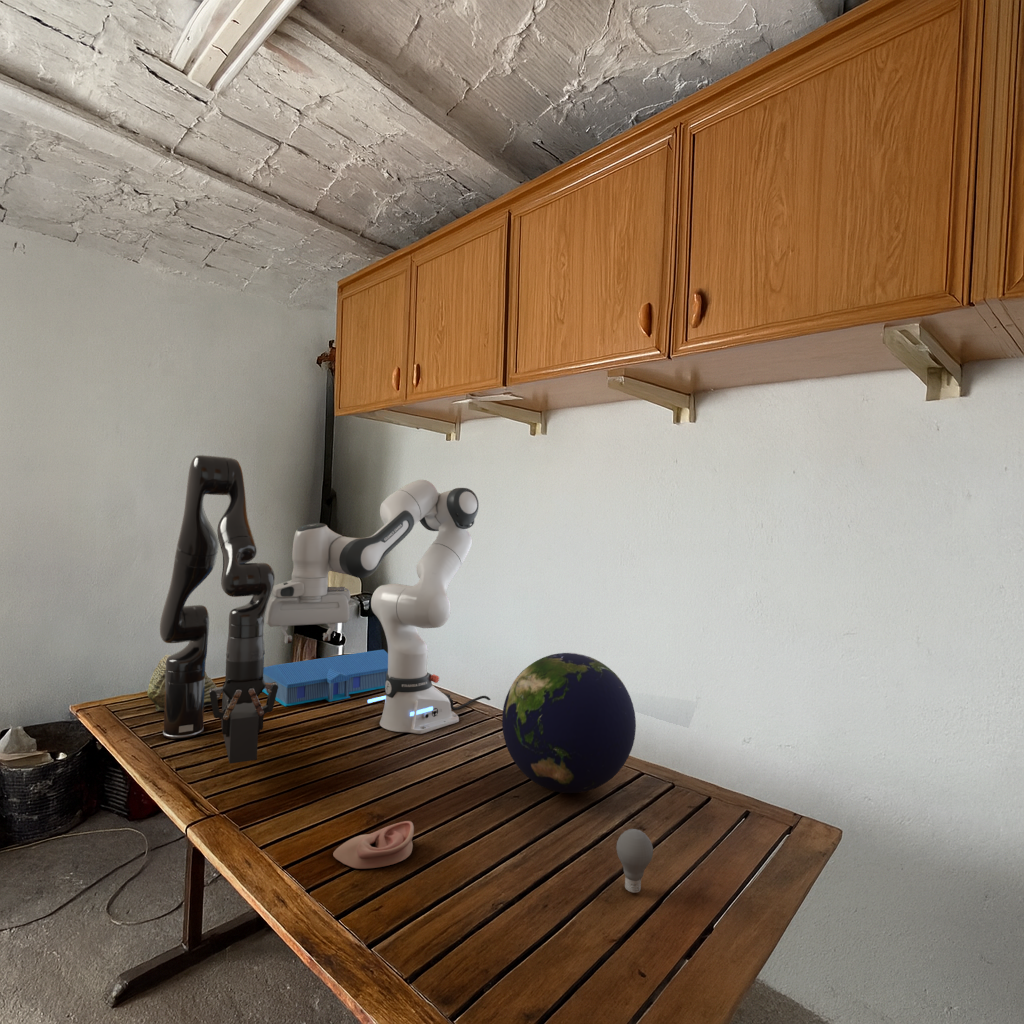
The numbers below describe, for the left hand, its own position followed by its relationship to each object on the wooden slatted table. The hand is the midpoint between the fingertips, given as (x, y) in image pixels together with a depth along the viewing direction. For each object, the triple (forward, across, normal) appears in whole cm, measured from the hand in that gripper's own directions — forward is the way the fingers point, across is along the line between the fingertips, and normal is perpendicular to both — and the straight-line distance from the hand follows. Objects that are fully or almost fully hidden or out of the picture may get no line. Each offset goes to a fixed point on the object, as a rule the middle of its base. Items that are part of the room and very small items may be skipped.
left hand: (242, 733), depth 136 cm
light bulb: (+11, -55, +65) cm, 86 cm away
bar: (+5, 0, -8) cm, 10 cm away
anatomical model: (+11, -19, +36) cm, 43 cm away
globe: (+11, -65, +28) cm, 72 cm away
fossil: (+12, +10, -60) cm, 62 cm away
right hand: (-15, -17, -19) cm, 29 cm away
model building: (+12, -34, -63) cm, 72 cm away
